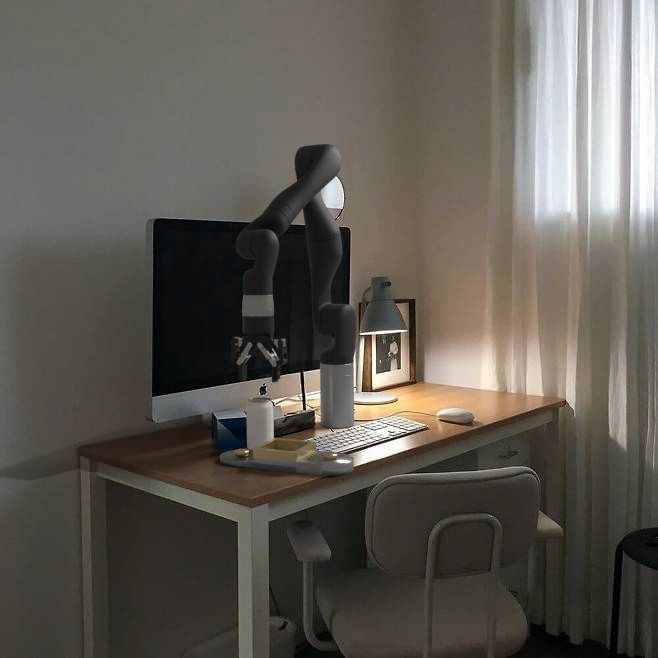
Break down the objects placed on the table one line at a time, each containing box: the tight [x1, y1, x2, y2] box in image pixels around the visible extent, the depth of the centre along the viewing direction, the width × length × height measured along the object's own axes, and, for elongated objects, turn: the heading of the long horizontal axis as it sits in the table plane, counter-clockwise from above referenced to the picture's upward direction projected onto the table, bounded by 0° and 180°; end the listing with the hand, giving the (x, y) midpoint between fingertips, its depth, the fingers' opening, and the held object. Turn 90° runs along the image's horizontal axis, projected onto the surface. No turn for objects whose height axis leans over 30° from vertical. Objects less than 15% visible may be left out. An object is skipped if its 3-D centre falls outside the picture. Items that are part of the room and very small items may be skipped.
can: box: [245, 397, 275, 450], centre depth 187 cm, size 6×6×12 cm
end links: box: [219, 437, 355, 477], centre depth 172 cm, size 32×11×4 cm, turn 67°
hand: (259, 381), depth 186 cm, fingers open, 8 cm apart
